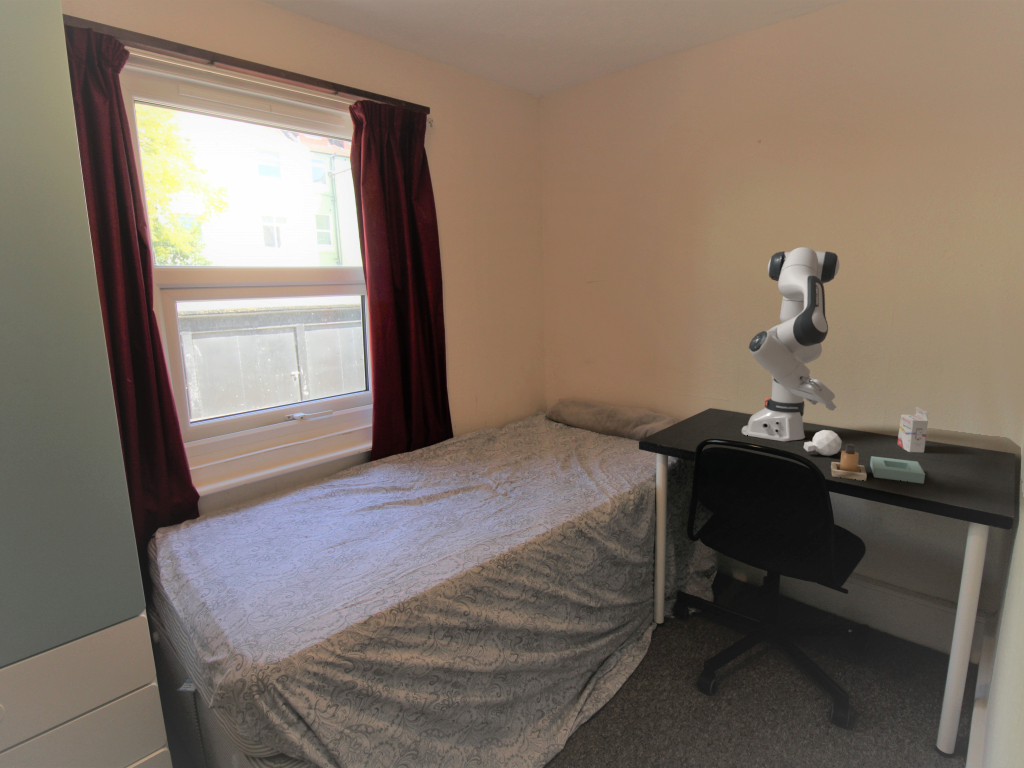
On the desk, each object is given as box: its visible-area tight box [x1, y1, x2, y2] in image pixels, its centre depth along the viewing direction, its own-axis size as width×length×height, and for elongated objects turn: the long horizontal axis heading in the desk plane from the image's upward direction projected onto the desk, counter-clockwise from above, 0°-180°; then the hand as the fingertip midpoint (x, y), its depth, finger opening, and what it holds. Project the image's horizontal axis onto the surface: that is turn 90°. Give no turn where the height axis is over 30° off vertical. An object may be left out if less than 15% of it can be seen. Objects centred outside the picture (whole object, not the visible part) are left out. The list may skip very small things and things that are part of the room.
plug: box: [839, 443, 860, 472], centre depth 162 cm, size 5×5×10 cm
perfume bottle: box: [803, 429, 843, 457], centre depth 181 cm, size 9×9×12 cm
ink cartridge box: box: [897, 406, 929, 454], centre depth 184 cm, size 9×5×15 cm, turn 168°
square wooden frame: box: [830, 461, 867, 482], centre depth 163 cm, size 9×9×2 cm
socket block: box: [869, 455, 926, 484], centre depth 162 cm, size 12×12×3 cm
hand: (824, 405), depth 160 cm, fingers open, 8 cm apart
